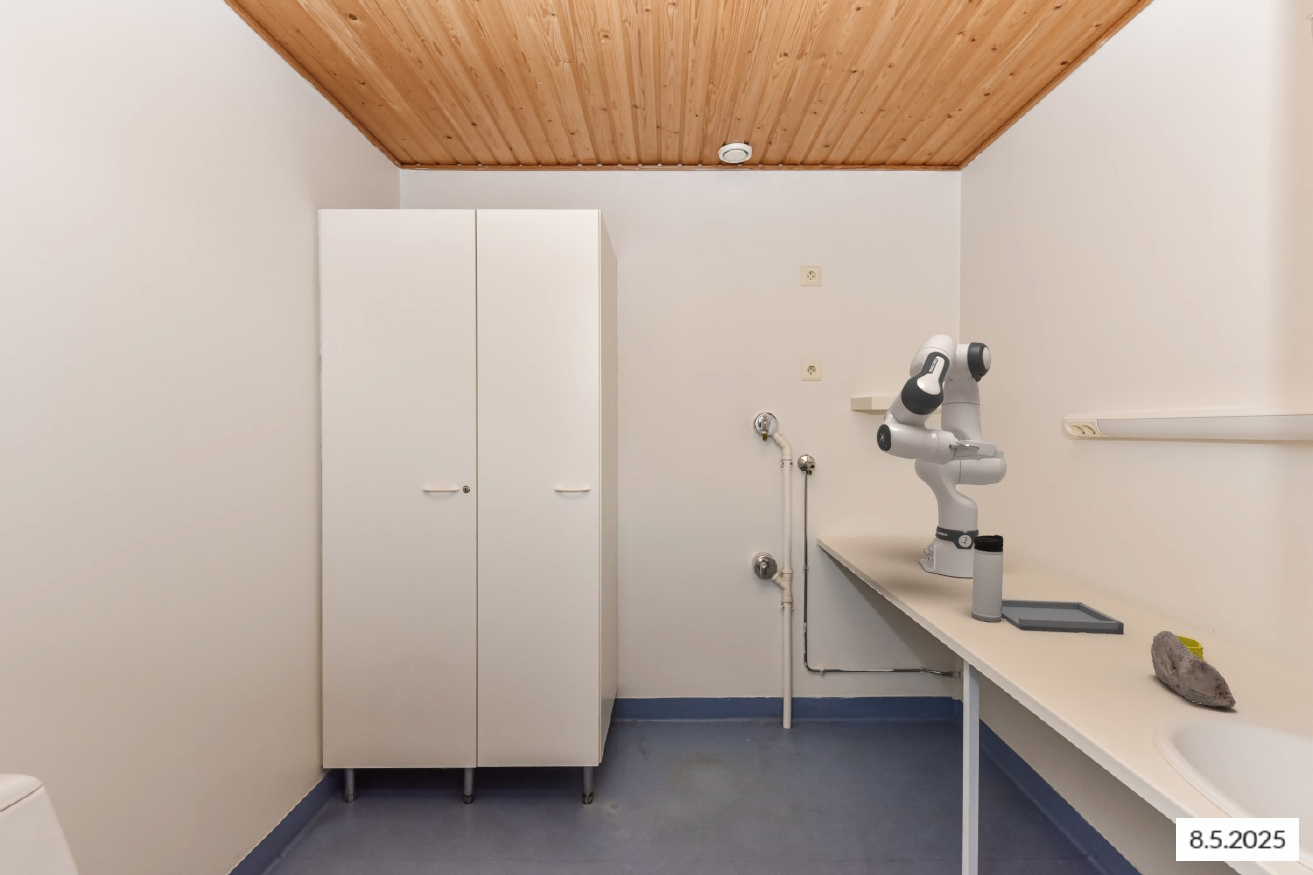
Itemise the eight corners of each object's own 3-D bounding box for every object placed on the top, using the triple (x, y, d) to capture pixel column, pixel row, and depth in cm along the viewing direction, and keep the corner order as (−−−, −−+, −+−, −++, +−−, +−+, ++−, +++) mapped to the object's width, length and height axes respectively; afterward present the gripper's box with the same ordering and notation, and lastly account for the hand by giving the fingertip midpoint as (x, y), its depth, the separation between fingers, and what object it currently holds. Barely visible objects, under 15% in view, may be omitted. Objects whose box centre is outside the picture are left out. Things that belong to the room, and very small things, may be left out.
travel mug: (1008, 621, 145) (1011, 537, 144) (986, 623, 143) (988, 538, 142) (987, 613, 151) (989, 533, 150) (965, 615, 149) (968, 534, 148)
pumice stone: (1241, 714, 99) (1243, 654, 99) (1185, 707, 101) (1187, 648, 101) (1189, 677, 114) (1192, 625, 113) (1142, 672, 116) (1143, 620, 116)
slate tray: (988, 608, 154) (989, 598, 154) (1079, 612, 153) (1080, 602, 153) (1021, 630, 139) (1021, 619, 138) (1123, 634, 137) (1123, 623, 137)
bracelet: (1159, 659, 123) (1159, 642, 123) (1151, 646, 130) (1152, 631, 130) (1207, 666, 119) (1207, 650, 119) (1196, 653, 126) (1196, 637, 126)
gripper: (964, 432, 149) (1018, 441, 150) (922, 438, 170) (969, 446, 170) (961, 457, 149) (1015, 466, 149) (919, 460, 169) (967, 468, 170)
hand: (990, 456), depth 160 cm, fingers open, 8 cm apart
